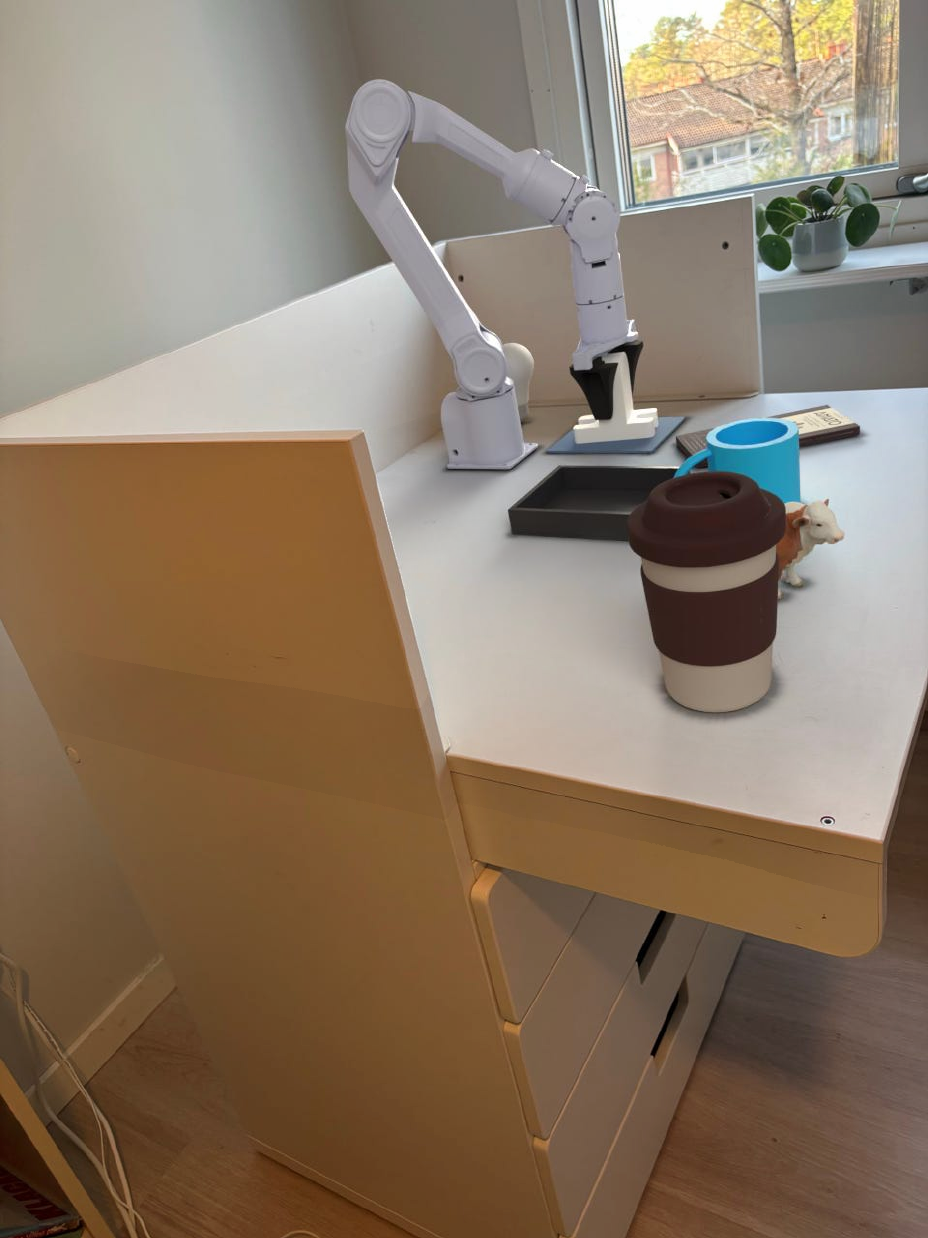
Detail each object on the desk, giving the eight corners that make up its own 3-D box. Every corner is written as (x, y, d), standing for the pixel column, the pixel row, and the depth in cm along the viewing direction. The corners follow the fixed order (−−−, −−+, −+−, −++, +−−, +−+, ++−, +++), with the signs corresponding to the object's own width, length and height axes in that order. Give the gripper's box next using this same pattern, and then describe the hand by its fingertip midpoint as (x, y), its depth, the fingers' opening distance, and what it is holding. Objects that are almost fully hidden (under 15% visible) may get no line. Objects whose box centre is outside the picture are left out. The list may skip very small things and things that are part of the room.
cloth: (546, 453, 117) (546, 450, 117) (585, 420, 125) (585, 418, 125) (652, 453, 109) (651, 450, 109) (685, 418, 118) (685, 416, 118)
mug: (782, 490, 93) (779, 411, 89) (814, 520, 86) (813, 436, 82) (664, 515, 93) (656, 437, 89) (686, 547, 86) (679, 464, 82)
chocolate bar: (675, 435, 110) (827, 404, 109) (676, 443, 110) (827, 412, 109) (696, 459, 102) (860, 426, 101) (696, 467, 102) (859, 434, 101)
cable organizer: (653, 437, 113) (644, 355, 109) (574, 443, 117) (562, 365, 112) (659, 422, 118) (651, 343, 113) (582, 429, 121) (572, 353, 116)
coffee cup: (631, 720, 64) (605, 523, 57) (664, 646, 72) (644, 463, 65) (781, 733, 60) (772, 521, 53) (800, 652, 67) (794, 457, 60)
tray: (512, 534, 97) (507, 509, 95) (562, 488, 105) (558, 465, 104) (650, 542, 88) (647, 515, 87) (692, 491, 97) (690, 466, 96)
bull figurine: (842, 609, 71) (841, 512, 68) (671, 600, 78) (661, 511, 74) (850, 582, 75) (849, 488, 71) (684, 576, 81) (676, 489, 77)
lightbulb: (513, 432, 127) (499, 352, 122) (492, 424, 132) (477, 347, 127) (550, 418, 129) (538, 339, 124) (528, 411, 134) (515, 335, 129)
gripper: (606, 311, 102) (621, 429, 109) (654, 280, 113) (664, 390, 119) (550, 316, 106) (567, 430, 112) (600, 286, 116) (613, 392, 123)
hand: (613, 410), depth 116 cm, fingers closed on cable organizer, 6 cm apart
